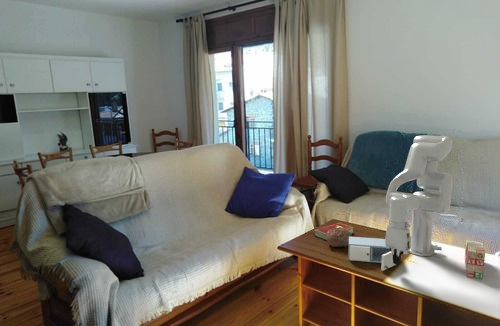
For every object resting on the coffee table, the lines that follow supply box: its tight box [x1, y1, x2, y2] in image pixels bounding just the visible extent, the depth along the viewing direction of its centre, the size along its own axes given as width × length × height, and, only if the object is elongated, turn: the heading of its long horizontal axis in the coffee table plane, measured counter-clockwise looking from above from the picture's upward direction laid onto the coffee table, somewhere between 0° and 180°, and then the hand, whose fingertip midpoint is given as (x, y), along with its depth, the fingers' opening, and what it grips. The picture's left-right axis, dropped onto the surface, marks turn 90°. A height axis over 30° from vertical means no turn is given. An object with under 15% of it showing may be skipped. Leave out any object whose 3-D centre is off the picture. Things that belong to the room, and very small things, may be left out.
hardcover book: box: [313, 222, 355, 241], centre depth 207 cm, size 12×21×4 cm, turn 124°
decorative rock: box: [327, 228, 353, 248], centre depth 190 cm, size 13×11×10 cm
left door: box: [380, 251, 397, 272], centre depth 161 cm, size 11×2×8 cm, turn 125°
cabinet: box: [348, 236, 390, 264], centre depth 172 cm, size 22×12×8 cm, turn 75°
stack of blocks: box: [464, 240, 486, 280], centre depth 160 cm, size 21×6×12 cm, turn 150°
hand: (396, 263), depth 157 cm, fingers closed
